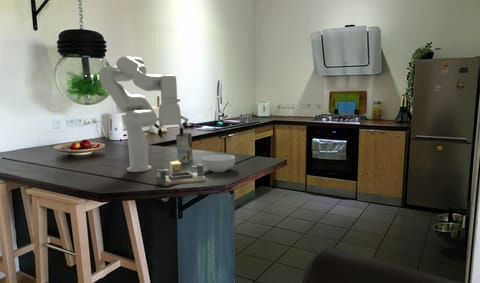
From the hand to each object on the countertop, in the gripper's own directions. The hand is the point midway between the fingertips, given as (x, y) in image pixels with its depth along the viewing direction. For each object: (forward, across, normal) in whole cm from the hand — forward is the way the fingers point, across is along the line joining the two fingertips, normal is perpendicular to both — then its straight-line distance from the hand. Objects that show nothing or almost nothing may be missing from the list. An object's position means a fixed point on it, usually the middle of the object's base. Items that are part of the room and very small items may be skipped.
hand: (171, 136), depth 175 cm
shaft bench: (+19, -2, +9) cm, 22 cm away
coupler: (+20, -2, -3) cm, 20 cm away
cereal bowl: (+20, -24, -2) cm, 31 cm away
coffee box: (+20, -12, -32) cm, 40 cm away
